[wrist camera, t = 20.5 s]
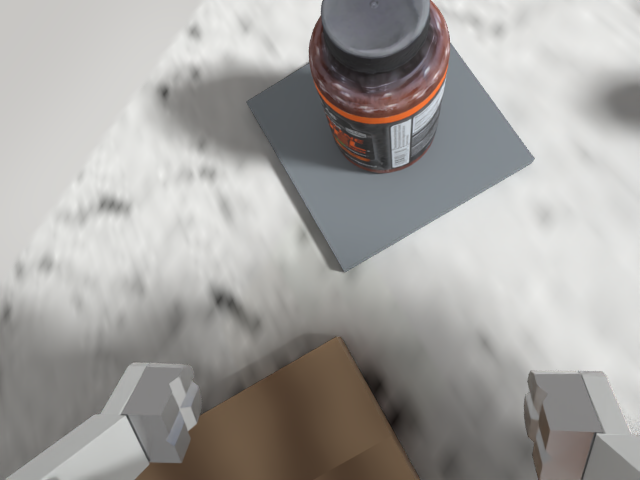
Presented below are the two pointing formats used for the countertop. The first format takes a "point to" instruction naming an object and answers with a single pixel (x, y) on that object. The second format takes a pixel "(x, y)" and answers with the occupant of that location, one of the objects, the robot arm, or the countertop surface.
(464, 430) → the countertop surface
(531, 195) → the countertop surface
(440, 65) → the supplement bottle
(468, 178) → the rubber pad
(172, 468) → the holder block
